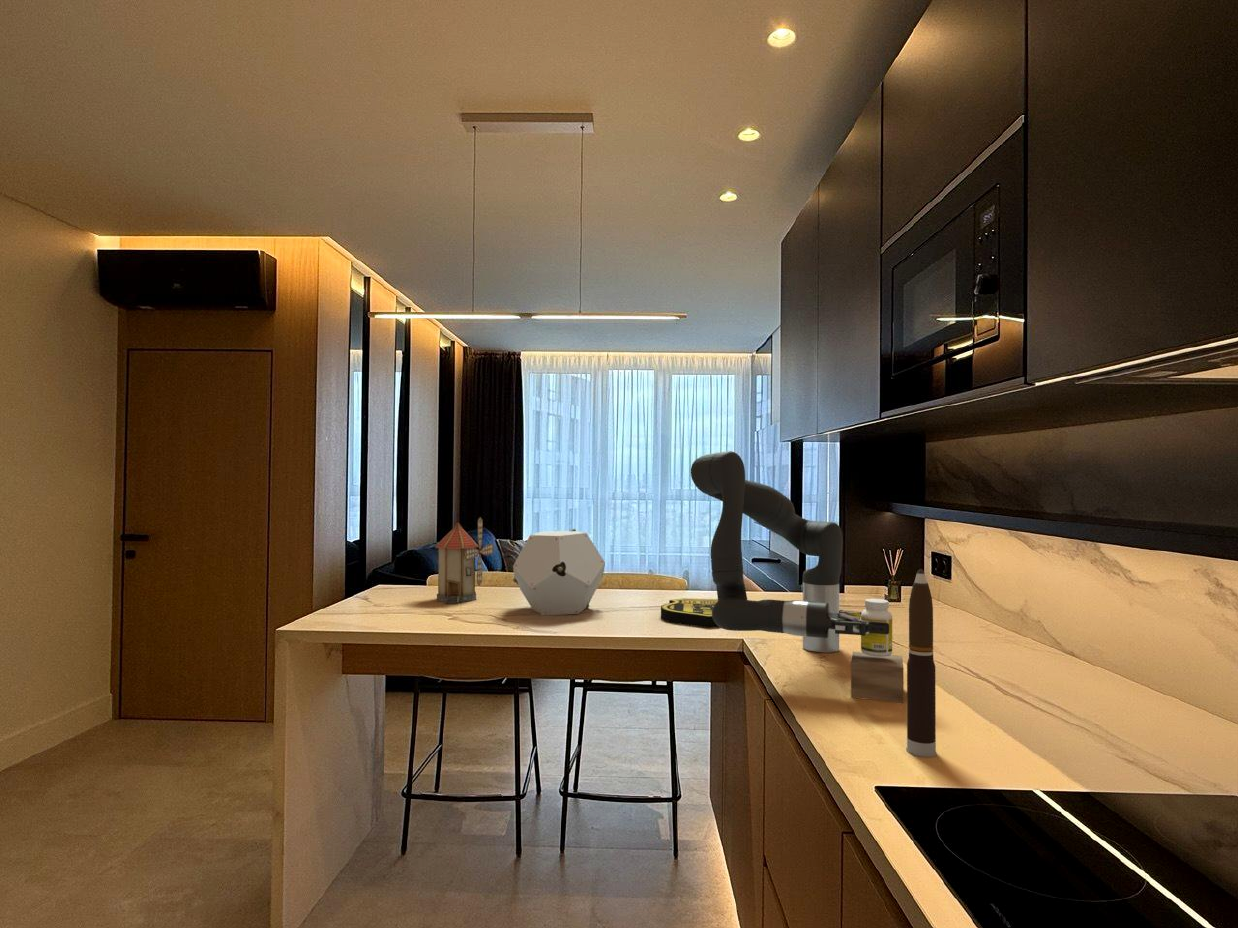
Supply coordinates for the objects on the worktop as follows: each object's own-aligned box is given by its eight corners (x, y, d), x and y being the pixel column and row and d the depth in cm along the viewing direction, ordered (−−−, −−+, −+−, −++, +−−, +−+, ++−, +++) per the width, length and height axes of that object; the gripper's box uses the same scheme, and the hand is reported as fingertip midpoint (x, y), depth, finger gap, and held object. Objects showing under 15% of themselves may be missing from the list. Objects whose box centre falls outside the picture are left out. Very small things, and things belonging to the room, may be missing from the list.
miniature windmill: (482, 606, 244) (483, 518, 245) (425, 606, 244) (426, 518, 245) (493, 594, 269) (494, 514, 269) (441, 594, 268) (442, 514, 269)
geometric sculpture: (604, 627, 244) (634, 556, 232) (532, 644, 224) (560, 567, 212) (557, 574, 263) (583, 506, 251) (487, 585, 243) (511, 512, 231)
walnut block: (852, 683, 155) (852, 651, 155) (902, 688, 151) (902, 655, 152) (850, 697, 146) (850, 662, 146) (903, 702, 142) (903, 667, 142)
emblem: (658, 615, 213) (662, 597, 243) (658, 627, 213) (662, 608, 243) (758, 617, 210) (750, 599, 240) (758, 630, 210) (750, 611, 240)
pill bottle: (877, 648, 153) (877, 597, 153) (898, 655, 147) (899, 602, 147) (854, 651, 150) (854, 598, 150) (875, 658, 145) (876, 603, 145)
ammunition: (929, 746, 119) (929, 567, 120) (941, 757, 115) (940, 570, 115) (902, 746, 119) (901, 566, 120) (912, 756, 115) (911, 570, 115)
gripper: (802, 606, 147) (889, 613, 141) (809, 595, 160) (888, 601, 155) (802, 643, 147) (889, 651, 141) (809, 629, 160) (888, 636, 155)
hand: (888, 625), depth 148 cm, fingers closed on pill bottle, 6 cm apart
